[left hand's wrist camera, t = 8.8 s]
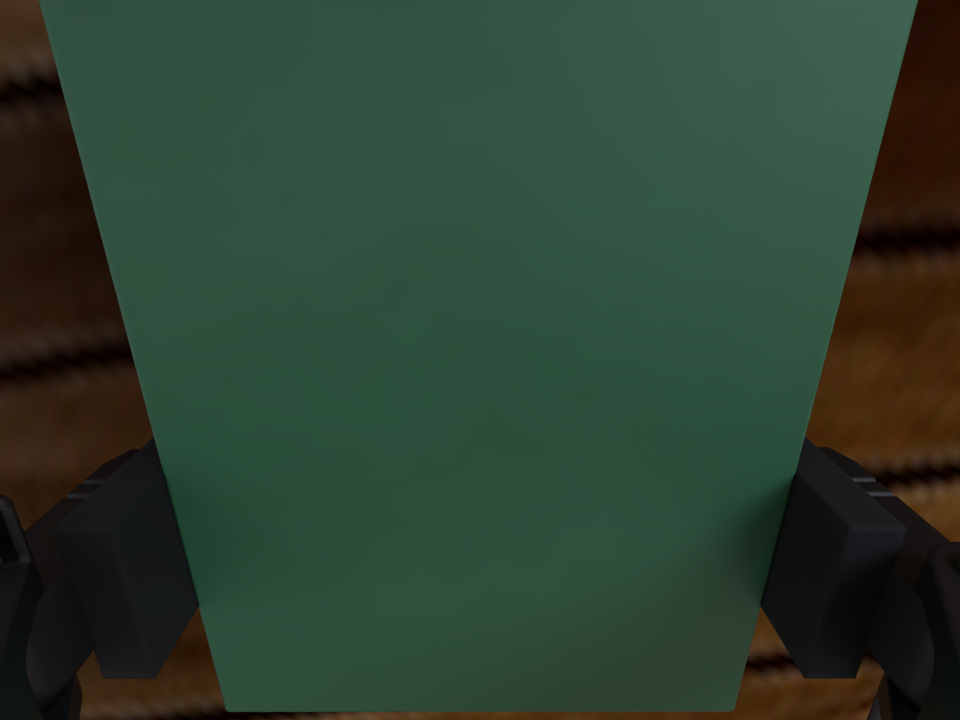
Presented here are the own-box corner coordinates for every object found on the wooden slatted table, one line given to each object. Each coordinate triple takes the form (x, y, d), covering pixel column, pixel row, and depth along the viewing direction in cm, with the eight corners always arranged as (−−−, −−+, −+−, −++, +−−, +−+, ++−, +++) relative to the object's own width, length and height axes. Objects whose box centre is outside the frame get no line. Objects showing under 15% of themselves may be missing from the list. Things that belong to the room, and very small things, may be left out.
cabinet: (290, -13, 14) (-35, -259, 5) (668, -13, 14) (990, -261, 5) (342, 445, 19) (224, 714, 10) (617, 445, 19) (735, 714, 10)
